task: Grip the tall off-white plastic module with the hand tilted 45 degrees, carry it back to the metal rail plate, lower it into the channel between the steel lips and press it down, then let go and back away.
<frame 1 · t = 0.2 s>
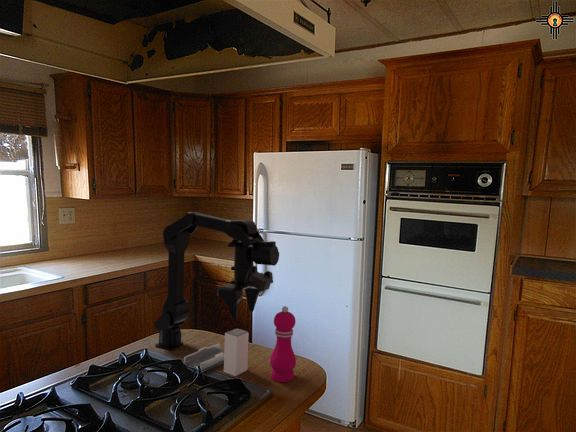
hand: (243, 315, 116), 15 cm above the countertop, tool pointing down, fingers open, 9 cm apart
pepper mill: (282, 378, 109), on the countertop
rail plate: (210, 361, 117), on the countertop
plastic module: (235, 370, 112), on the countertop
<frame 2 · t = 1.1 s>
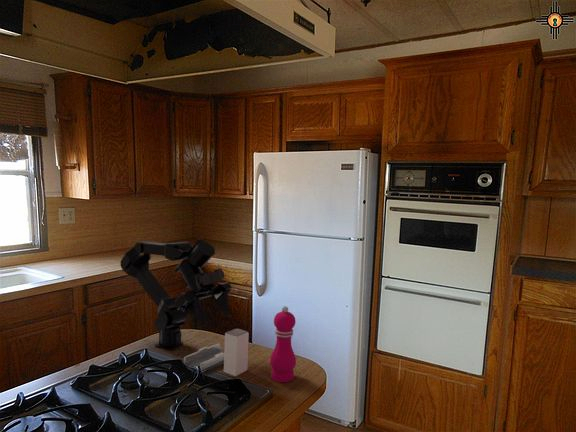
hand: (217, 319, 115), 13 cm above the countertop, tool tilted 45°, fingers open, 9 cm apart
nothing on the countertop moved.
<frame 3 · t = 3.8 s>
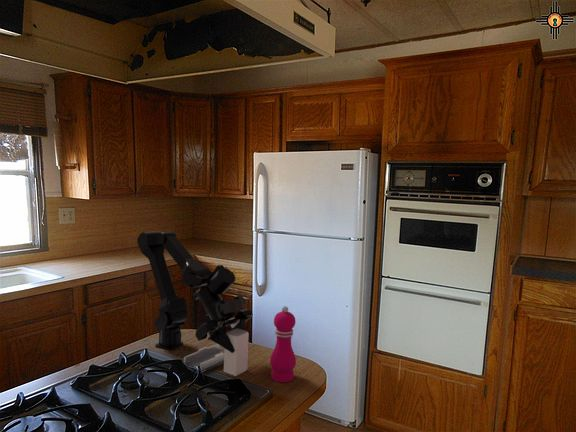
hand: (240, 349, 111), 7 cm above the countertop, tool tilted 45°, fingers closed on plastic module, 5 cm apart
plastic module: (235, 370, 112), on the countertop, touching gripper
everything else where it was.
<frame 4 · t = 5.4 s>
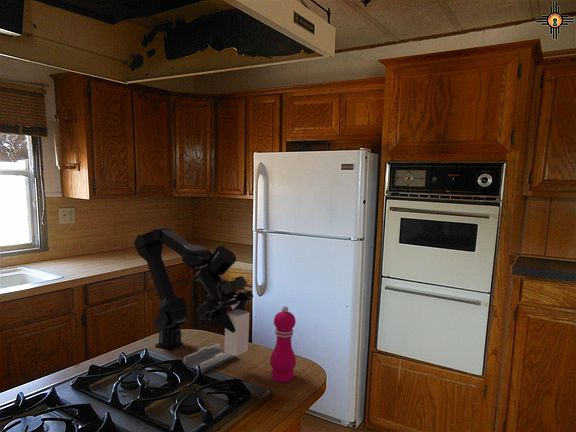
hand: (240, 329, 110), 12 cm above the countertop, tool tilted 45°, fingers closed on plastic module, 5 cm apart
plastic module: (236, 351, 112), point 6 cm above the countertop, touching gripper
everything else where it was.
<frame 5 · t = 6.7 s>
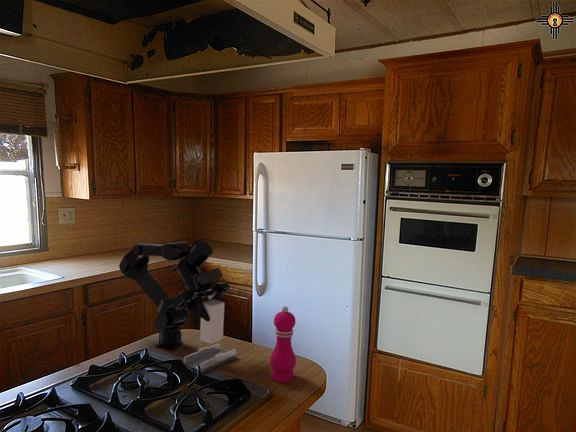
hand: (215, 318, 116), 13 cm above the countertop, tool tilted 45°, fingers closed on plastic module, 5 cm apart
plastic module: (211, 339, 117), point 7 cm above the countertop, touching gripper
everything else where it was.
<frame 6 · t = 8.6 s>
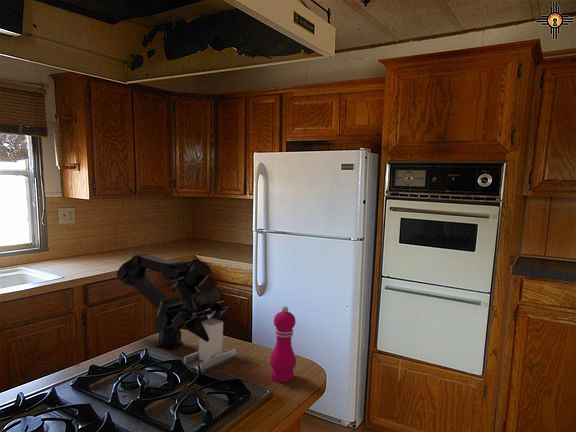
hand: (214, 338, 116), 7 cm above the countertop, tool tilted 45°, fingers closed on plastic module, 5 cm apart
plastic module: (210, 358, 118), point 1 cm above the countertop, touching gripper, rail plate
everything else where it was.
when the fingers open (7 cm above the countertop, at t = 9.6 s): plastic module stays where it is, resting on rail plate.
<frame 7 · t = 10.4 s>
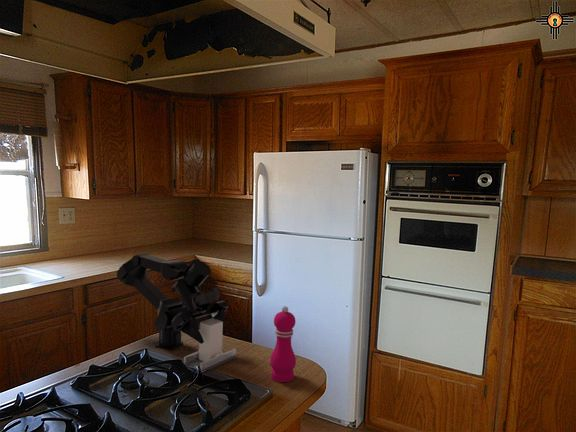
hand: (214, 338, 116), 7 cm above the countertop, tool tilted 45°, fingers open, 9 cm apart
plastic module: (210, 358, 118), point 1 cm above the countertop, touching rail plate
everything else where it was.
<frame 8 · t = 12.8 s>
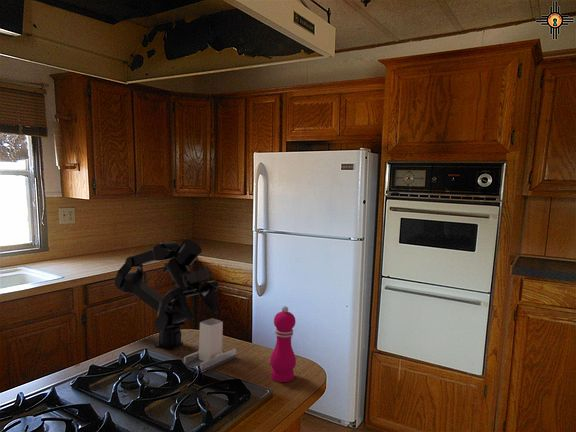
hand: (204, 316, 119), 13 cm above the countertop, tool tilted 45°, fingers open, 9 cm apart
nothing on the countertop moved.
at the end: plastic module 0.1 cm off-centre on the rail plate, point 0.8 cm above the rail plate's base; plastic module tilted 0°; the gripper is holding nothing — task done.
